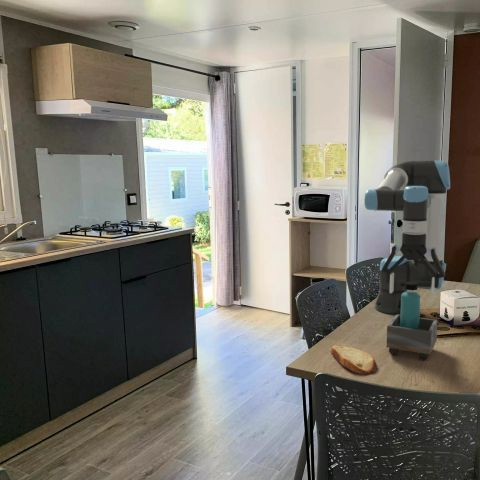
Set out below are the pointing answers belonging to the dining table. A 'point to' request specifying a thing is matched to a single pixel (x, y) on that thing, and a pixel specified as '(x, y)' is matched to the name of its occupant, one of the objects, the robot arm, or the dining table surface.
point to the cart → (412, 337)
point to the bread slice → (354, 359)
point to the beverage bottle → (410, 307)
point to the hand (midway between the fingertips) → (411, 294)
